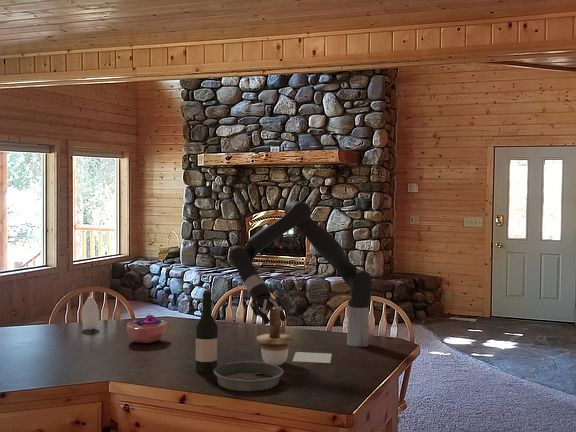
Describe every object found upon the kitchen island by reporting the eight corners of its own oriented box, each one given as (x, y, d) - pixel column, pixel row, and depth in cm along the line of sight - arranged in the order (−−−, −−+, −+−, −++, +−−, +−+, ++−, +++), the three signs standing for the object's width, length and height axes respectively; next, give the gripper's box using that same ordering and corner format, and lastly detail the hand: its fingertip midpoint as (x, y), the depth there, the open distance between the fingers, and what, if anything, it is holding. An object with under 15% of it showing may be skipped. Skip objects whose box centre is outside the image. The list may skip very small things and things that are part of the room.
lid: (294, 337, 265) (294, 307, 265) (290, 345, 251) (290, 313, 251) (259, 336, 267) (259, 306, 266) (253, 343, 253) (254, 312, 252)
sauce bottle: (96, 331, 312) (96, 292, 311) (79, 330, 312) (79, 292, 311) (100, 327, 320) (101, 290, 319) (84, 327, 320) (84, 290, 319)
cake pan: (257, 397, 218) (257, 384, 218) (198, 385, 231) (199, 372, 231) (296, 380, 239) (296, 367, 239) (240, 369, 252) (240, 357, 252)
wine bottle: (213, 374, 244) (214, 292, 243) (191, 372, 246) (192, 291, 244) (220, 368, 252) (221, 289, 251) (199, 366, 254) (200, 288, 253)
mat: (331, 354, 276) (331, 353, 276) (330, 363, 261) (330, 362, 261) (295, 352, 278) (295, 352, 278) (292, 362, 263) (292, 361, 263)
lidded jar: (290, 362, 263) (291, 338, 263) (284, 369, 253) (285, 344, 252) (264, 359, 266) (265, 336, 265) (257, 366, 255) (257, 342, 255)
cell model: (116, 344, 286) (116, 318, 286) (143, 335, 305) (143, 311, 304) (149, 349, 280) (150, 322, 280) (175, 339, 298) (175, 314, 298)
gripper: (248, 284, 259) (267, 318, 251) (275, 281, 269) (294, 313, 261) (239, 296, 263) (257, 329, 255) (265, 292, 273) (284, 325, 265)
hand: (276, 321), depth 258 cm, fingers open, 8 cm apart
